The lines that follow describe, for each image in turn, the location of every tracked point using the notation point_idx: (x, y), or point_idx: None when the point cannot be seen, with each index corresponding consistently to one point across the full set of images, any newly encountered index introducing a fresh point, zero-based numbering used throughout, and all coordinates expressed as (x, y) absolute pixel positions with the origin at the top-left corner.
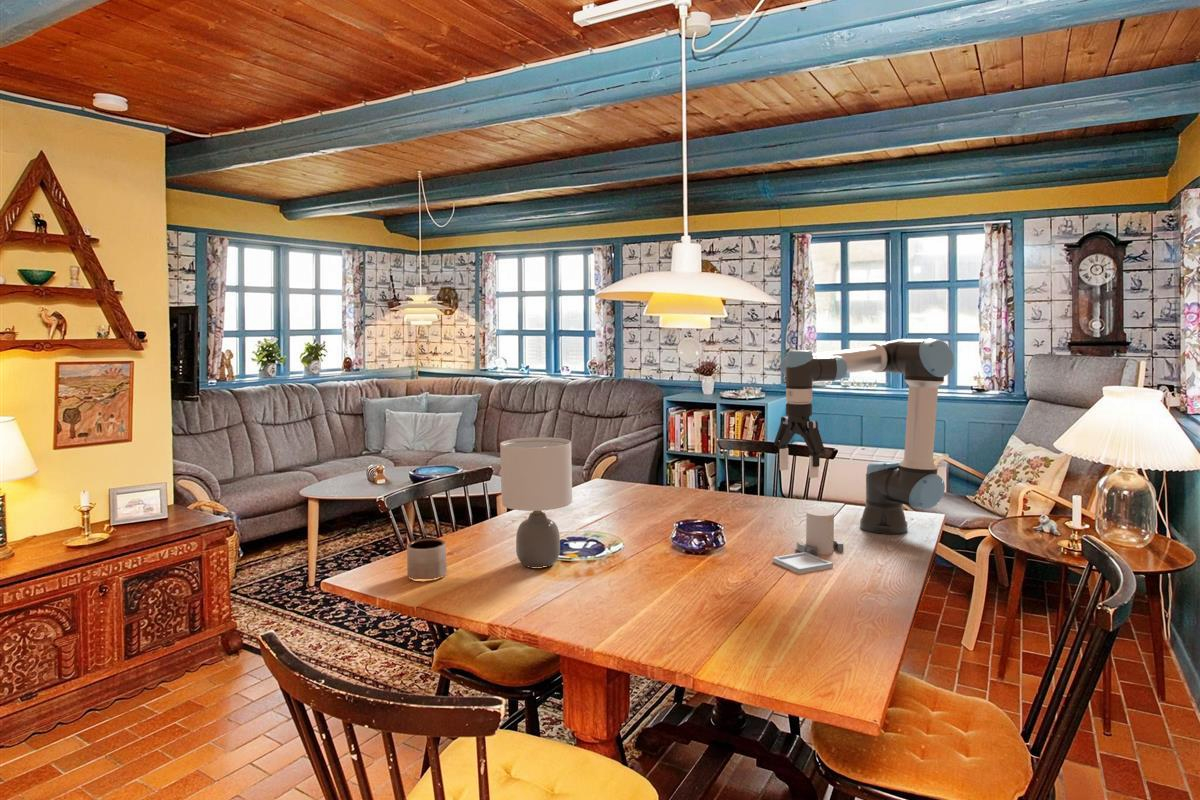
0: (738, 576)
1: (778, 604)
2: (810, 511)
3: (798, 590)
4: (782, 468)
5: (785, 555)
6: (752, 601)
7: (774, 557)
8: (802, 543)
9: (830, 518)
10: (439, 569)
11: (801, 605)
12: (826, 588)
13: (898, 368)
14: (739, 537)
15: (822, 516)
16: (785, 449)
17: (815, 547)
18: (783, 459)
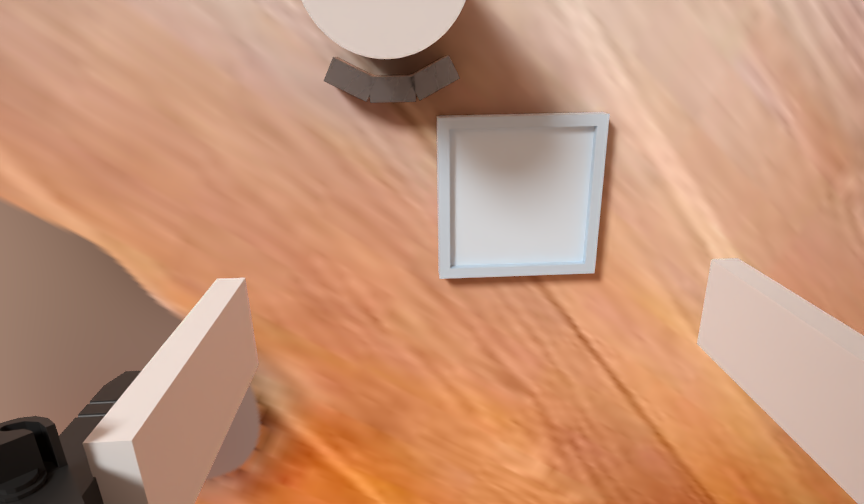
0: (508, 437)
1: (741, 454)
2: (333, 7)
3: (698, 355)
4: (249, 356)
5: (441, 223)
6: (686, 495)
7: (442, 273)
8: (369, 81)
9: None
10: None
11: None
12: None
13: None
14: (79, 204)
15: (459, 12)
16: (153, 486)
17: (447, 67)
18: (218, 410)
